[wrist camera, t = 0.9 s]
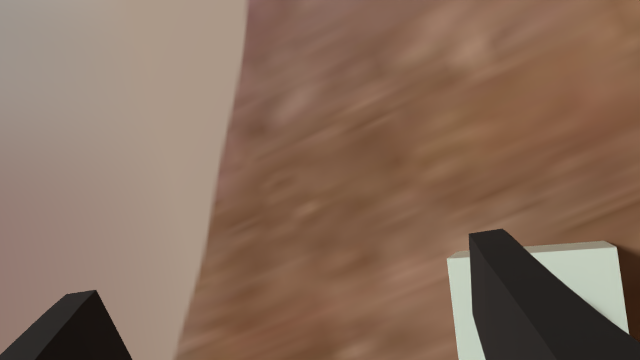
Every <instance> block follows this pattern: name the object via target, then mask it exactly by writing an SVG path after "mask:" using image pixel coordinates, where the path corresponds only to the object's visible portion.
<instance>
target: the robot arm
mask: <svg viewBox="0 0 640 360" xmlns="http://www.w3.org/2000/svg"><path fill="white" fill-rule="evenodd" d="M469 250H470V273H471V295H472V315H473V318H474V322H475V325H476V329H477V332H478V336H479V339H480V343H481V346H482V349H483V353H484V356H485V359H486V360H640V342H638V341H637V340H636V339H634V338H633V337H632V336H630V335H629V334H628V333H626V332H625V331H624V330H622V329H621V328H619V327H618V326H617V325H615V324H614V323H613V322H611V321H610V320H609V319H608V318H606V317H605V316H604V315H602V314H601V313H600V312H599V311H597V310H596V309H595V308H593V307H592V306H591V305H590V304H589V303H587V302H586V301H585V300H584V299H582V298H581V297H580V296H579V295H578V294H576V293H575V292H574V291H573V290H571V289H570V288H569V287H568V286H567V285H565V284H564V283H563V282H562V281H561V280H560V279H558V278H557V277H556V276H555V275H554V274H553V273H551V272H550V271H549V270H548V269H547V268H546V267H545V266H544V265H542V264H541V263H540V262H539V261H538V260H537V259H536V258H535V257H533V256H532V255H531V254H530V253H529V252H528V251H527V250H526V249H525V248H524V247H523V246H522V245H520V244H519V243H518V242H517V241H516V240H515V239H514V238H513V237H512V236H511V235H510V234H509V233H507V232H506V231H505V230H503V229H497V230H491V231H484V232H477V233H471V234H469ZM0 360H132V358H131V356H130V354H129V352H128V351H127V349H126V346H125V345H124V343H123V341H122V339H121V337H120V335H119V333H118V331H117V330H116V327H115V325H114V324H113V322H112V319H111V318H110V316H109V314H108V312H107V310H106V308H105V306H104V304H103V302H102V300H101V298H100V296H99V295H98V293H97V291H96V290H92V291H85V292H78V293H72V294H66V295H65V296H64V297H63V298H61V299H60V300H59V301H58V302H57V303H55V304H54V305H53V306H52V307H51V308H50V309H49V310H47V311H46V312H45V313H44V314H43V315H42V316H41V317H40V318H39V319H38V320H37V321H36V322H35V323H33V324H32V325H31V326H30V327H29V328H28V329H27V330H26V331H25V332H24V333H23V334H22V335H21V336H20V337H19V338H18V339H16V341H14V342H13V343H12V344H11V345H10V346H9V347H8V348H7V349H6V350H5V351H4V352H3V353H2V354H1V355H0Z"/></svg>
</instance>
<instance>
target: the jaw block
mask: <svg viewBox="0 0 640 360" xmlns="http://www.w3.org/2000/svg"><path fill="white" fill-rule="evenodd" d="M524 248H525V249H526V250H527V251H528V252H529V253H530V254H531V255H532V256H533V257H535V258H536V259H537V260H538V261H539V262H540V263H541V264H542V265H544V266H545V267H546V268H547V269H548V270H549V271H550V272H551V273H553V274H554V275H555V276H556V277H557V278H558V279H560V280H561V281H562V282H563V283H564V284H565V285H567V286H568V287H569V288H570V289H571V290H573V291H574V292H575V293H576V294H578V295H579V296H580V297H581V298H582V299H584V300H585V301H586V302H587V303H589V304H590V305H591V306H592V307H593V308H595V309H596V310H597V311H599V312H600V313H601V314H602V315H604V316H605V317H606V318H608V319H609V320H610V321H611V322H613V323H614V324H615V325H617V326H618V327H619V328H621V329H622V330H624V331H625V332H626V333H628V334H629V331H628V324H627V317H626V310H625V303H624V296H623V289H622V281H621V274H620V267H619V260H618V253H617V247H615V246H613V245H611V244H610V243H608V242H606V241H596V242H582V243H569V244H555V245H541V246H527V247H524ZM447 263H448V272H449V280H450V289H451V297H452V306H453V314H454V323H455V331H456V340H457V348H458V357H459V360H486V359H485V356H484V353H483V349H482V346H481V343H480V339H479V336H478V332H477V329H476V325H475V322H474V318H473V315H472V295H471V273H470V251H458V252H456V253H455V254H453V255H452V256H450V257H449V258H447Z"/></svg>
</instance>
